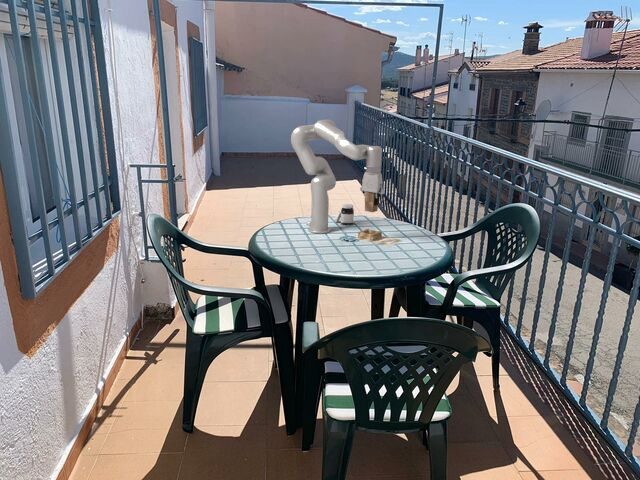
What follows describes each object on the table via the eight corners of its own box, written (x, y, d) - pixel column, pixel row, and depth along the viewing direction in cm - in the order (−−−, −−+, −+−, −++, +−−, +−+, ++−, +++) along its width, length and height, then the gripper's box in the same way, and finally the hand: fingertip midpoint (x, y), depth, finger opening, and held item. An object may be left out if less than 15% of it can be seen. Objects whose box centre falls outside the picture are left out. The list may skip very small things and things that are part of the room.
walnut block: (364, 210, 268) (365, 192, 265) (369, 209, 272) (370, 191, 269) (372, 212, 265) (373, 193, 262) (377, 210, 269) (378, 192, 266)
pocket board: (353, 239, 270) (354, 232, 269) (368, 234, 281) (368, 227, 280) (389, 247, 257) (390, 240, 256) (403, 242, 268) (403, 235, 267)
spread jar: (354, 226, 299) (355, 206, 296) (335, 225, 299) (335, 206, 296) (352, 221, 311) (352, 202, 308) (333, 221, 310) (334, 202, 307)
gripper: (355, 169, 264) (354, 203, 269) (383, 172, 254) (381, 208, 259) (363, 167, 270) (361, 201, 275) (391, 171, 260) (389, 205, 265)
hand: (371, 204), depth 267 cm, fingers closed on walnut block, 5 cm apart
